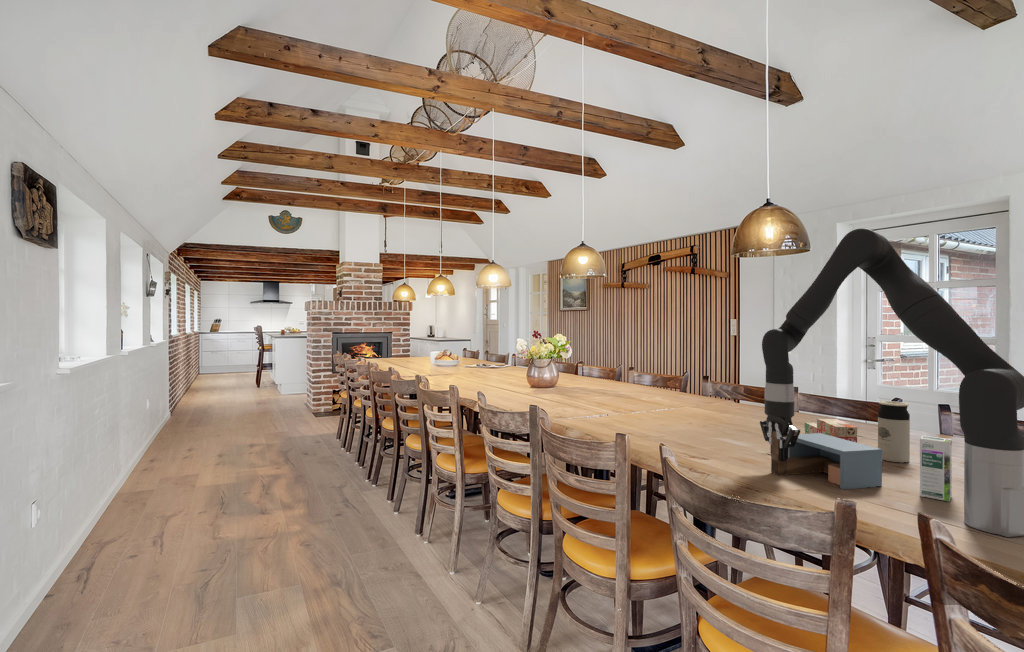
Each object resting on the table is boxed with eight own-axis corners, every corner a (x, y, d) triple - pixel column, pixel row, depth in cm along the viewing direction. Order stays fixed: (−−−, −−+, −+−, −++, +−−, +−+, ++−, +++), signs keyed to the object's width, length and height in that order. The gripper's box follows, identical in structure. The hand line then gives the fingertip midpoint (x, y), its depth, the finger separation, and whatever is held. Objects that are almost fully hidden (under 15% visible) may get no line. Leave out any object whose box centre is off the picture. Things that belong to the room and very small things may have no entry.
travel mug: (898, 456, 162) (898, 401, 162) (915, 463, 154) (916, 404, 154) (872, 456, 162) (872, 400, 162) (888, 462, 154) (888, 404, 154)
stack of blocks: (804, 449, 172) (804, 413, 172) (824, 450, 171) (824, 413, 171) (834, 466, 151) (835, 425, 151) (857, 467, 150) (857, 426, 150)
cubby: (881, 486, 132) (881, 449, 132) (844, 489, 129) (844, 451, 129) (820, 465, 151) (820, 433, 151) (786, 467, 149) (786, 434, 149)
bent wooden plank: (844, 477, 140) (844, 434, 140) (791, 480, 136) (791, 436, 136) (821, 469, 148) (821, 428, 148) (771, 472, 144) (771, 430, 144)
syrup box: (919, 496, 124) (919, 437, 124) (922, 491, 128) (922, 434, 128) (949, 502, 120) (949, 441, 120) (952, 496, 124) (952, 437, 124)
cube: (856, 485, 133) (856, 468, 133) (842, 486, 132) (842, 469, 132) (842, 480, 137) (842, 463, 137) (828, 481, 137) (828, 464, 137)
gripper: (809, 402, 137) (809, 465, 137) (773, 395, 151) (773, 452, 151) (786, 403, 136) (785, 467, 136) (751, 395, 149) (751, 453, 149)
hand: (779, 459), depth 143 cm, fingers closed on bent wooden plank, 2 cm apart
